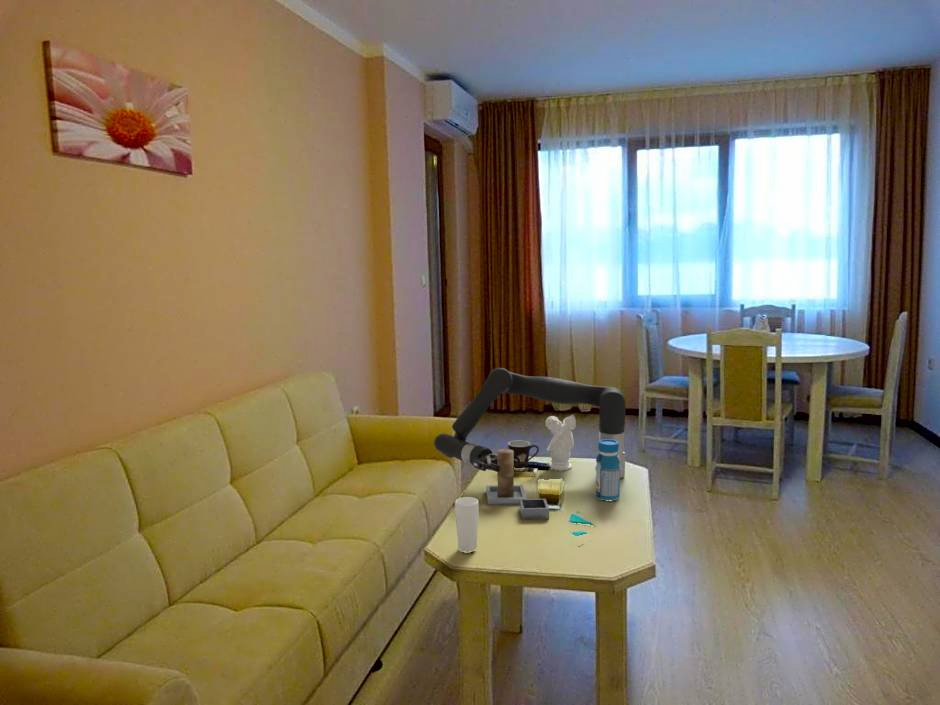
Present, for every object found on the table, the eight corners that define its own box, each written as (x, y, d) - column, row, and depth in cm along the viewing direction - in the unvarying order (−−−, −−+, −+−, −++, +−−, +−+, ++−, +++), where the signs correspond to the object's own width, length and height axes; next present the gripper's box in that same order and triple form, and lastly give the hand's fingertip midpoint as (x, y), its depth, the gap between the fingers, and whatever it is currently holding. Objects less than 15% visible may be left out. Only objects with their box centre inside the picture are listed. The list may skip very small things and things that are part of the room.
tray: (522, 491, 247) (522, 484, 247) (526, 505, 234) (526, 498, 234) (486, 492, 247) (486, 485, 247) (487, 506, 234) (487, 499, 234)
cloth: (597, 551, 201) (597, 544, 201) (550, 545, 206) (550, 538, 205) (610, 517, 225) (610, 510, 225) (568, 512, 230) (568, 506, 230)
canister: (513, 492, 243) (512, 448, 241) (514, 498, 238) (514, 453, 235) (497, 493, 243) (496, 449, 241) (498, 499, 238) (497, 454, 235)
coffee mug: (506, 471, 268) (506, 446, 267) (509, 464, 277) (509, 439, 275) (537, 472, 266) (537, 447, 265) (538, 465, 275) (538, 441, 273)
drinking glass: (459, 557, 198) (458, 506, 195) (453, 547, 204) (452, 498, 202) (482, 553, 200) (481, 504, 197) (475, 543, 206) (474, 495, 204)
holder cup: (545, 510, 230) (545, 498, 230) (549, 520, 222) (549, 508, 221) (519, 510, 230) (519, 499, 230) (522, 521, 222) (522, 509, 221)
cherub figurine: (542, 468, 272) (541, 413, 269) (557, 459, 282) (557, 406, 279) (570, 473, 265) (570, 417, 262) (585, 464, 275) (585, 410, 272)
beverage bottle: (609, 504, 235) (610, 447, 231) (589, 497, 241) (590, 441, 238) (625, 498, 240) (626, 442, 236) (605, 491, 246) (606, 436, 243)
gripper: (461, 449, 244) (493, 460, 232) (491, 441, 254) (523, 451, 242) (461, 470, 246) (493, 481, 234) (491, 461, 255) (523, 472, 243)
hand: (508, 466), depth 238 cm, fingers open, 8 cm apart
